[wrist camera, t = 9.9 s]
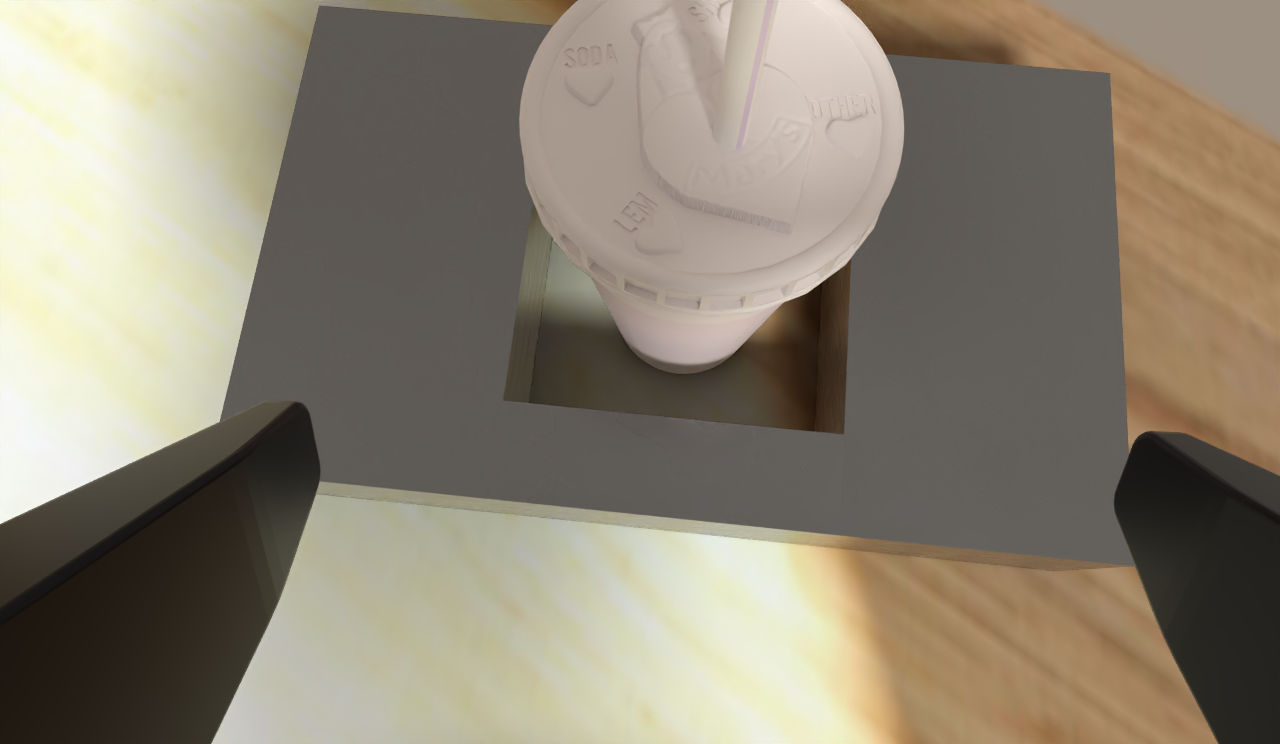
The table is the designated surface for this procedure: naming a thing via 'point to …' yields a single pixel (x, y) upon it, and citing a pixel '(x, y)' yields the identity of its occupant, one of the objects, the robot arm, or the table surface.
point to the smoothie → (708, 159)
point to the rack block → (685, 448)
